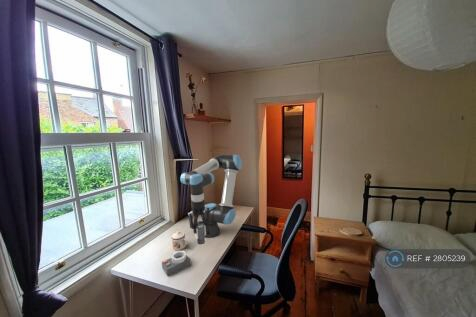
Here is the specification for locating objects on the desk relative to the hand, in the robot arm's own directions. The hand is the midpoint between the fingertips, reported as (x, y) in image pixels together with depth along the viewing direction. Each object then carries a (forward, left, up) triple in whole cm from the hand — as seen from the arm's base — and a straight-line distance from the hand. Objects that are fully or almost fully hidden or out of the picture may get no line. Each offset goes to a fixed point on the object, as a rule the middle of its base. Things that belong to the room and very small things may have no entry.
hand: (200, 236), depth 119 cm
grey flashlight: (0, 0, -4) cm, 4 cm away
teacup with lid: (+4, -23, -17) cm, 29 cm away
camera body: (+14, -6, -16) cm, 23 cm away
